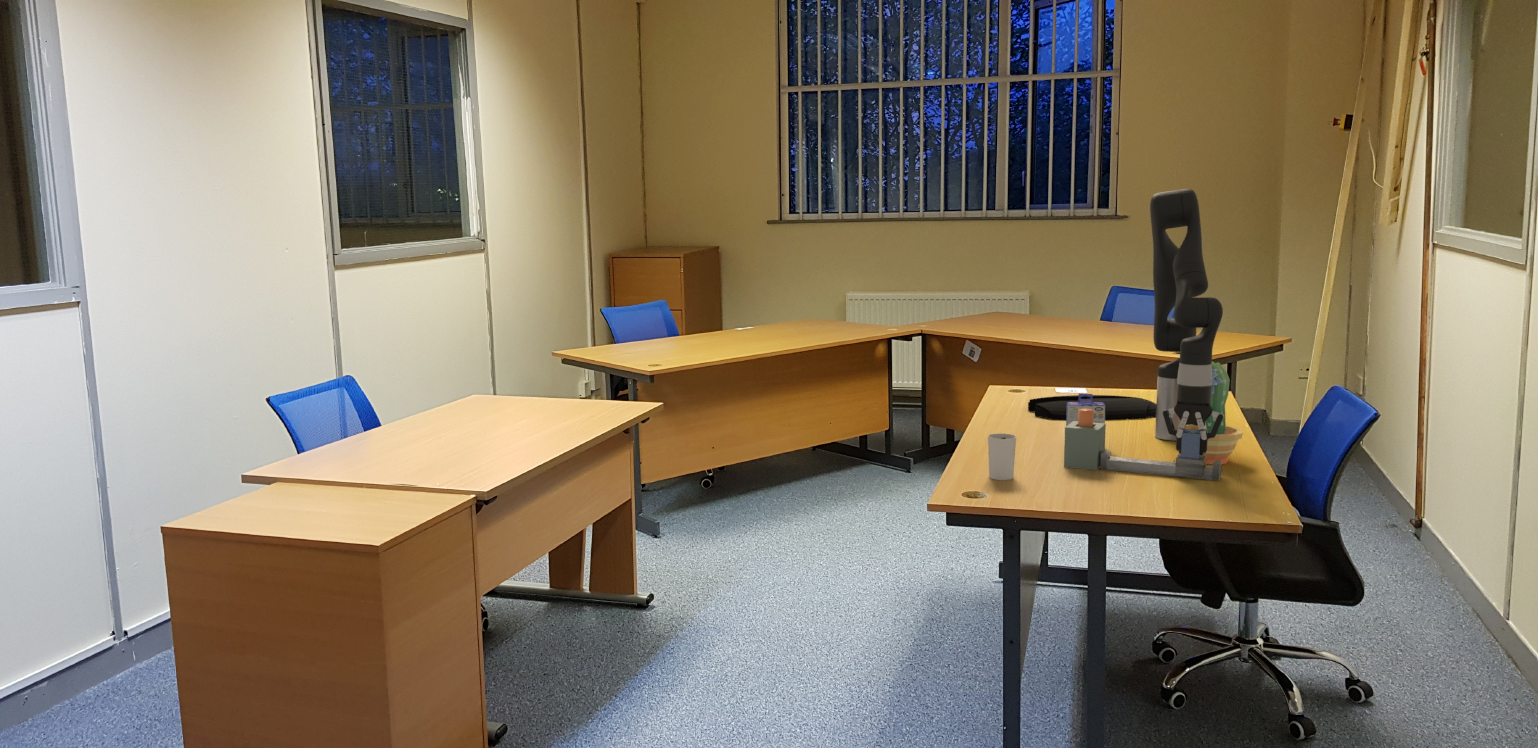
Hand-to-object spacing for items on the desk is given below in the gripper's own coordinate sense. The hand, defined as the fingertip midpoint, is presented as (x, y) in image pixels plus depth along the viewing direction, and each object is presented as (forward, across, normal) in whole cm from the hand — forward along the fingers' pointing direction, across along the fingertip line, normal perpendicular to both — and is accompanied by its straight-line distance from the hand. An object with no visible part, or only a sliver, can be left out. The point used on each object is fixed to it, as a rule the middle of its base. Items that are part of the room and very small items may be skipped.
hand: (1191, 453), depth 251 cm
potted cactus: (+6, -2, -19) cm, 20 cm away
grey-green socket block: (+6, +25, -1) cm, 26 cm away
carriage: (+6, 0, 0) cm, 6 cm away
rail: (+6, +7, 0) cm, 9 cm away
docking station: (+6, +37, -72) cm, 81 cm away
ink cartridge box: (+6, +29, -20) cm, 36 cm away
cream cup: (+6, +40, +20) cm, 45 cm away
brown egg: (-2, +25, -1) cm, 25 cm away
